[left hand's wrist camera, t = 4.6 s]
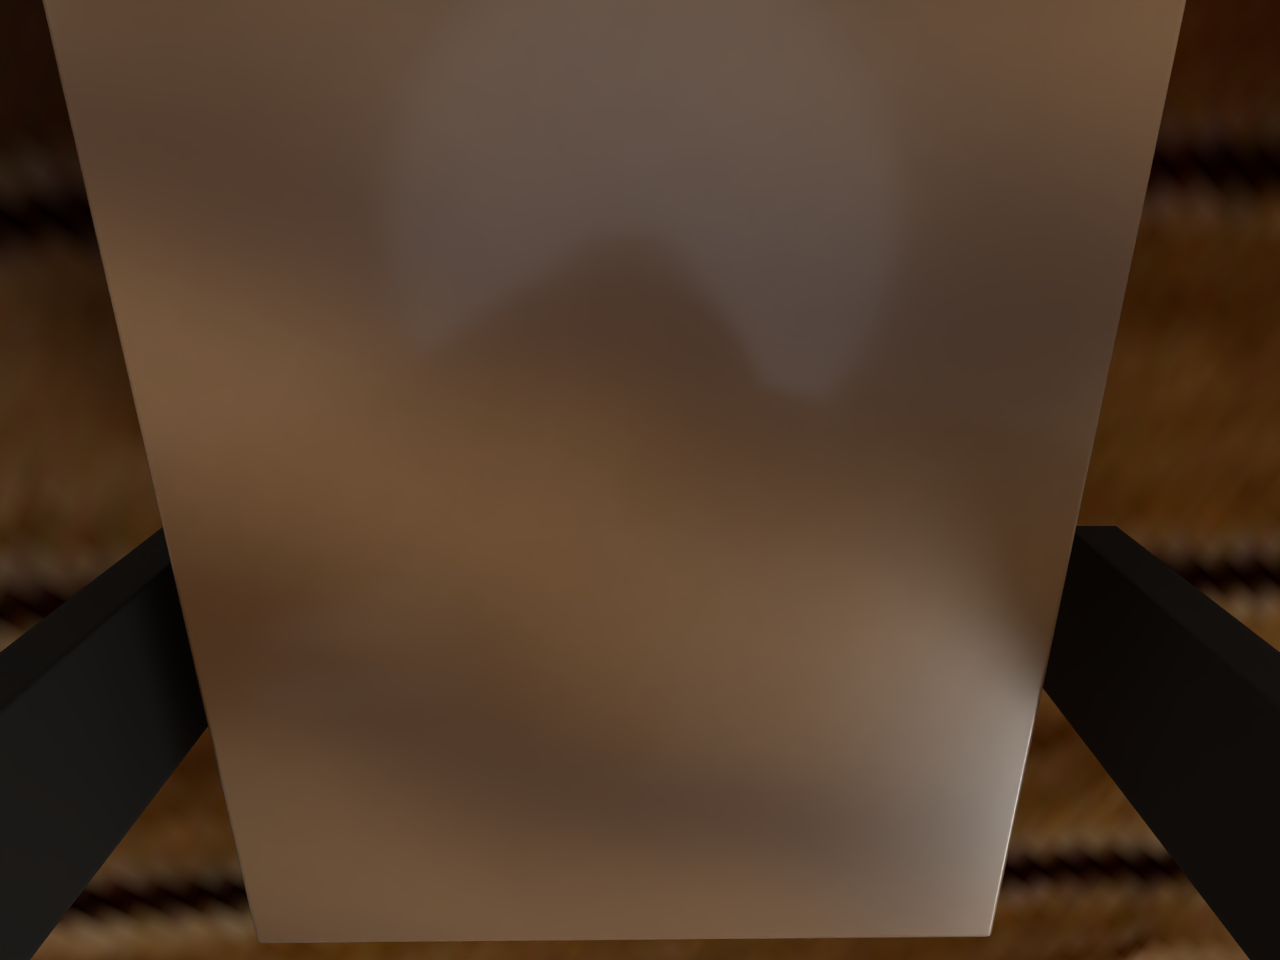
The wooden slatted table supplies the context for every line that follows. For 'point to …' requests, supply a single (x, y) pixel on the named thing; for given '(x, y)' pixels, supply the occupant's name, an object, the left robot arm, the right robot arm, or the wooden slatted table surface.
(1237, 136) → the wooden slatted table surface
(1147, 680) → the left robot arm
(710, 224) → the cabinet
